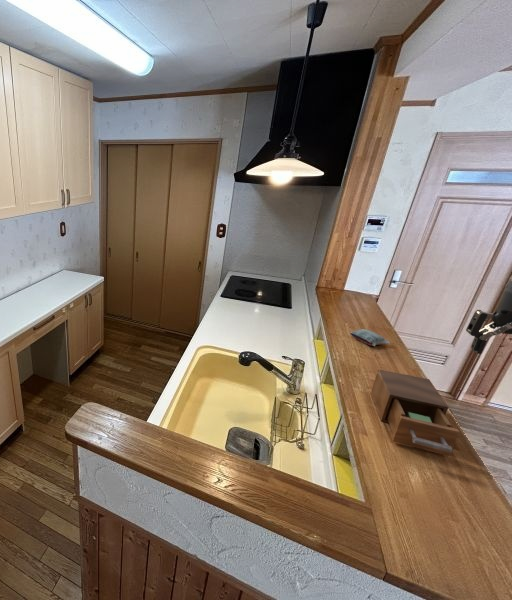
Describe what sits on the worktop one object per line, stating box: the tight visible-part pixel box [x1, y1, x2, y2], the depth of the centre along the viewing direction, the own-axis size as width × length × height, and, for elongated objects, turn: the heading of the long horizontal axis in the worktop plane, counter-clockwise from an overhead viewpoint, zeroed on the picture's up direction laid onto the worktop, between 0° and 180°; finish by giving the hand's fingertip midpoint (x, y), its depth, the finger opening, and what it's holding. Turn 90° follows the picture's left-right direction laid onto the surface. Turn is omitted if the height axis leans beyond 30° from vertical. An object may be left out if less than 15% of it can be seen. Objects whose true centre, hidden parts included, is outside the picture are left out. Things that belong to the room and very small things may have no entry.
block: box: [406, 412, 432, 423], centre depth 88 cm, size 4×4×4 cm
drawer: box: [386, 397, 461, 457], centre depth 87 cm, size 18×11×8 cm, turn 153°
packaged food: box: [349, 328, 391, 347], centre depth 141 cm, size 9×12×5 cm
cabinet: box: [370, 369, 449, 424], centre depth 98 cm, size 15×13×10 cm
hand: (501, 356), depth 76 cm, fingers open, 8 cm apart
